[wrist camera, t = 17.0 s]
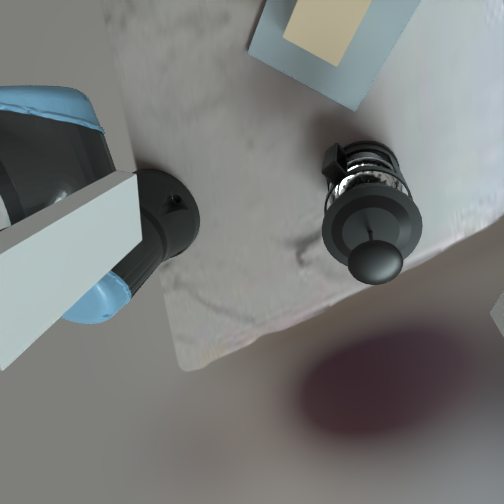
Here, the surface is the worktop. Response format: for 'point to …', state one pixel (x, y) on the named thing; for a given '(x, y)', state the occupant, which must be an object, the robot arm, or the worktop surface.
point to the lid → (331, 42)
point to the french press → (368, 212)
